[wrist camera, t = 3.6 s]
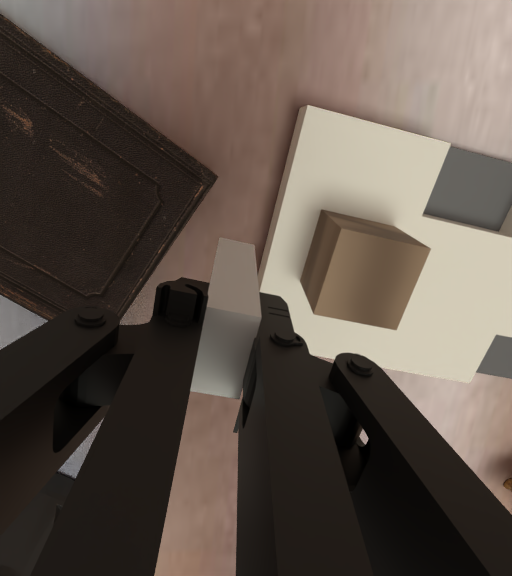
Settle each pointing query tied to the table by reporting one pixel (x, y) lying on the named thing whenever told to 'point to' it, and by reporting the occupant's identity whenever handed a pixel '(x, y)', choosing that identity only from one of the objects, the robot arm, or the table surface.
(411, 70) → the table surface
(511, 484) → the lion figurine
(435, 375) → the trap board
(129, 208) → the hardcover book
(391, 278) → the walnut block
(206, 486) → the table surface
